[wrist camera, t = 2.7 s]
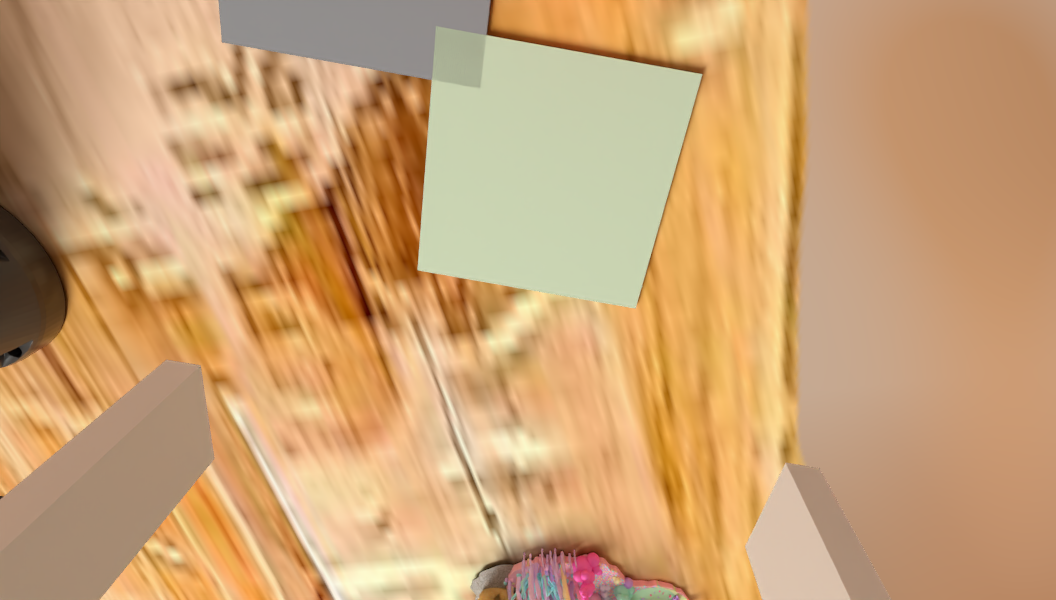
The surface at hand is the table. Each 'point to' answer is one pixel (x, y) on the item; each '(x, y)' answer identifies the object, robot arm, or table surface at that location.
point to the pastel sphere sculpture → (567, 581)
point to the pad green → (549, 166)
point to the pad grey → (355, 30)
